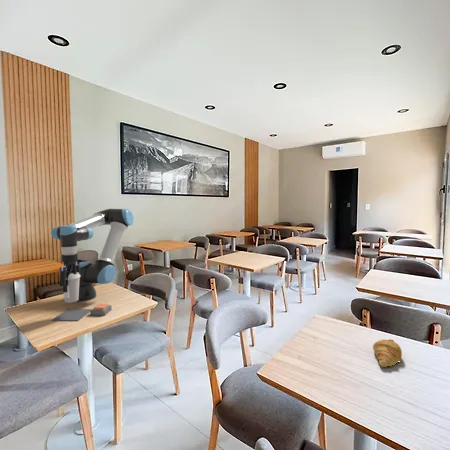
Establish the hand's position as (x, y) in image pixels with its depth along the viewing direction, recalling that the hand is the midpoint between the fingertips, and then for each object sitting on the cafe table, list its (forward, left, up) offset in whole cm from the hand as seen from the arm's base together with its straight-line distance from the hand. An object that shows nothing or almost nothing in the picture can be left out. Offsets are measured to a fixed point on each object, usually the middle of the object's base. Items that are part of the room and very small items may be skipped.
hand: (71, 294), depth 144 cm
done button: (-4, +14, -10) cm, 18 cm away
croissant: (+32, +152, -12) cm, 155 cm away
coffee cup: (0, 0, -3) cm, 3 cm away
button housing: (-4, +14, -12) cm, 19 cm away
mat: (0, 0, -12) cm, 12 cm away
